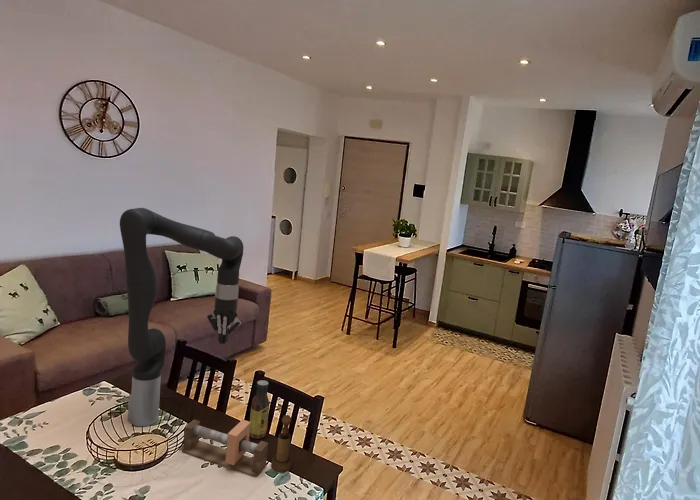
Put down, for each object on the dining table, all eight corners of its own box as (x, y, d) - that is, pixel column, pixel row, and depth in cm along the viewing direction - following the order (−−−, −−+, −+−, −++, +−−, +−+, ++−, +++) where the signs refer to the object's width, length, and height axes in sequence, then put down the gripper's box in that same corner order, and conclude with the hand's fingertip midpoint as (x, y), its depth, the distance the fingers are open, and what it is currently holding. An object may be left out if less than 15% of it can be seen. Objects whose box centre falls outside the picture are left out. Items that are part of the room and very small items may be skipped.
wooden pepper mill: (274, 474, 151) (280, 423, 147) (268, 462, 156) (273, 412, 153) (294, 470, 154) (300, 420, 150) (287, 458, 160) (293, 409, 156)
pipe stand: (181, 452, 156) (182, 428, 154) (194, 441, 162) (195, 417, 161) (256, 478, 148) (259, 453, 147) (267, 465, 155) (269, 441, 153)
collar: (225, 462, 150) (227, 433, 148) (239, 447, 158) (242, 419, 156) (233, 465, 149) (236, 436, 147) (248, 449, 157) (250, 422, 156)
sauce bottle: (262, 441, 167) (267, 389, 163) (245, 437, 168) (250, 385, 164) (269, 431, 173) (274, 380, 169) (252, 427, 174) (257, 377, 170)
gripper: (203, 294, 160) (199, 342, 164) (238, 302, 157) (233, 351, 160) (215, 289, 168) (212, 335, 171) (249, 296, 164) (245, 344, 167)
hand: (222, 343), depth 166 cm, fingers closed
